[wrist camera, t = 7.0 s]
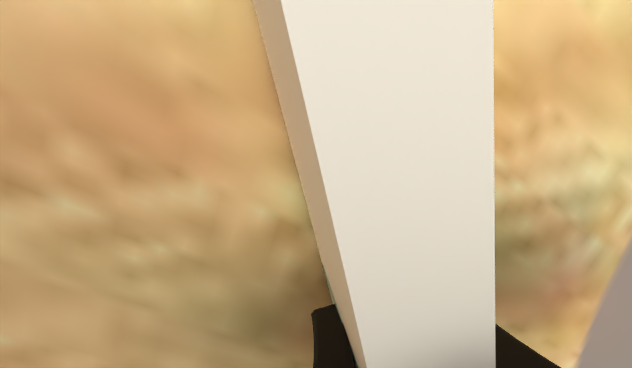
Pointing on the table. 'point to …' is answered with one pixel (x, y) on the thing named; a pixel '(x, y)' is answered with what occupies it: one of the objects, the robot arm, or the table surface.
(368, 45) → the cream rectangular block
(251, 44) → the table surface
